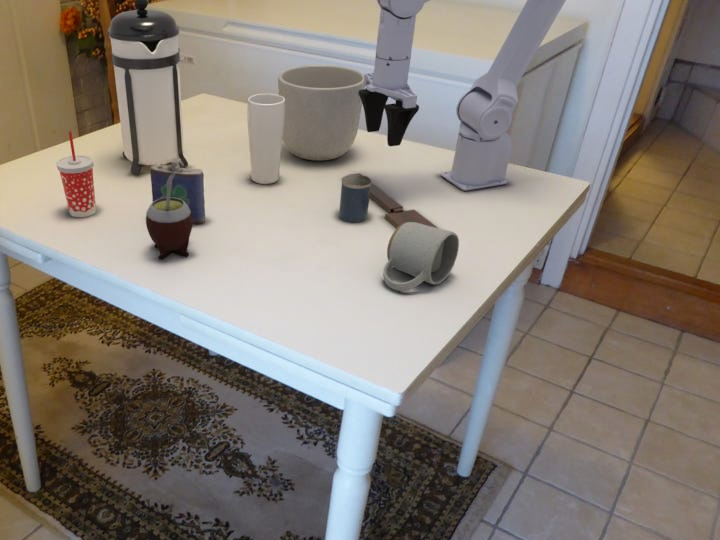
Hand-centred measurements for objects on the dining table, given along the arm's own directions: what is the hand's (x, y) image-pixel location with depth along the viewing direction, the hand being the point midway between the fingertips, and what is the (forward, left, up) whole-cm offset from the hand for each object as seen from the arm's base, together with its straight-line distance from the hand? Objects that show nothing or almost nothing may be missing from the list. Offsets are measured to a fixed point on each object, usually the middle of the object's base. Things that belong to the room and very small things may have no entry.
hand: (383, 138), depth 120 cm
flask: (+38, 0, -10) cm, 39 cm away
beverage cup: (+53, -9, -10) cm, 55 cm away
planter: (+3, -20, -10) cm, 22 cm away
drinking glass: (+18, -11, -10) cm, 23 cm away
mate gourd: (+42, +11, -10) cm, 44 cm away
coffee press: (+36, -28, -10) cm, 47 cm away
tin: (+10, +9, -9) cm, 16 cm away
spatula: (+2, +7, -9) cm, 12 cm away
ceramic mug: (+10, +31, -10) cm, 34 cm away
